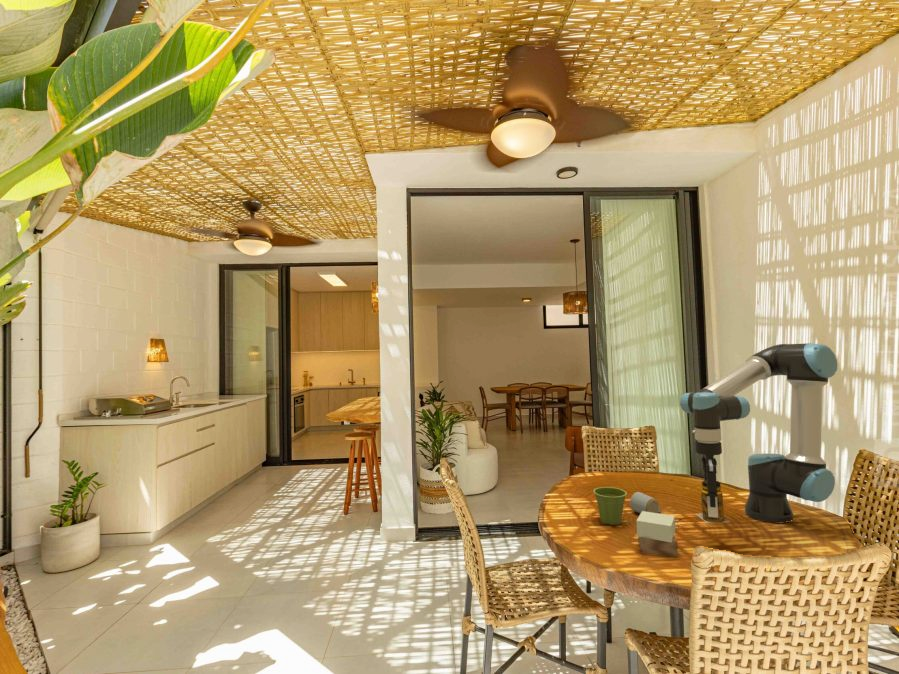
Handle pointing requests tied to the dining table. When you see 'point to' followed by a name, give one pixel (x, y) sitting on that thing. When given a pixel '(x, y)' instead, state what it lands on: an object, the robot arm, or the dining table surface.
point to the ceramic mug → (643, 503)
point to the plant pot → (610, 504)
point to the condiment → (705, 505)
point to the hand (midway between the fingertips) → (712, 512)
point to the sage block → (656, 526)
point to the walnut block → (658, 547)
